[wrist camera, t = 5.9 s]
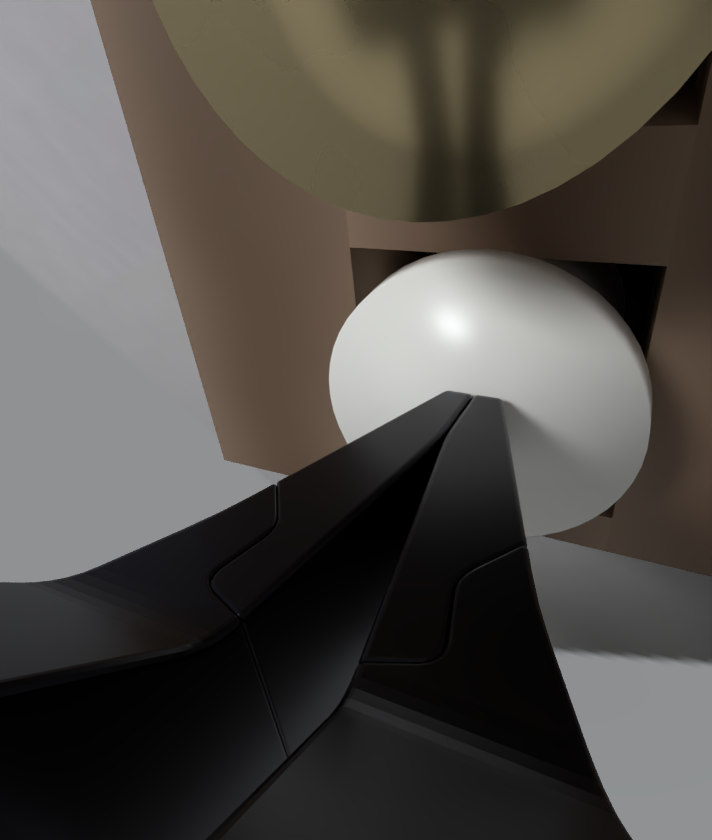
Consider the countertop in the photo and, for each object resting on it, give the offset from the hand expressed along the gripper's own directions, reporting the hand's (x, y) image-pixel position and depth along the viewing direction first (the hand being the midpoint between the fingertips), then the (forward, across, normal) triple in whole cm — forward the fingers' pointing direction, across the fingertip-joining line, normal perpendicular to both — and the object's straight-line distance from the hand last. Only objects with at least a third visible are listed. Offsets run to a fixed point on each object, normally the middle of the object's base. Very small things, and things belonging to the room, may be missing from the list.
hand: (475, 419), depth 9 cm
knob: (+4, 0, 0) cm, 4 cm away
